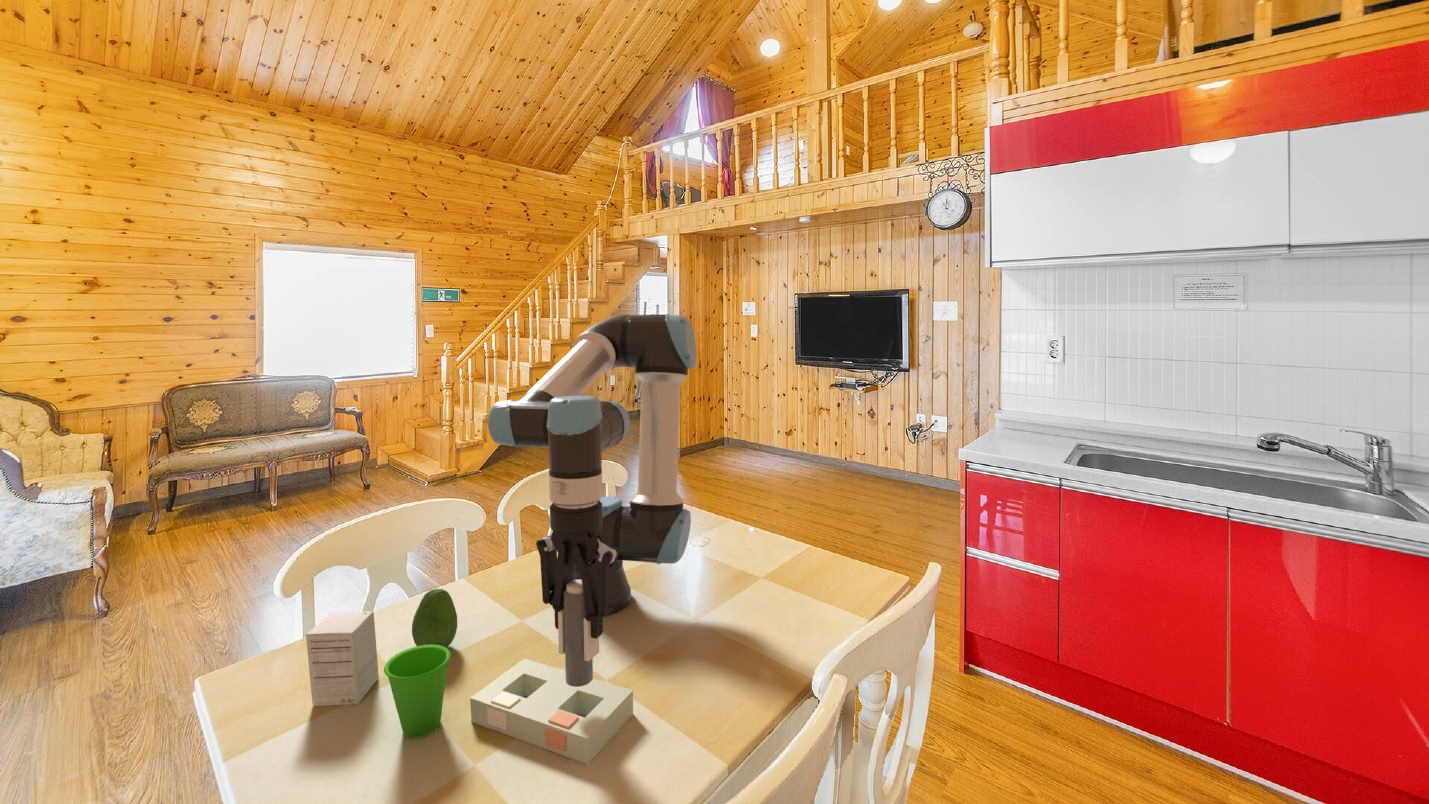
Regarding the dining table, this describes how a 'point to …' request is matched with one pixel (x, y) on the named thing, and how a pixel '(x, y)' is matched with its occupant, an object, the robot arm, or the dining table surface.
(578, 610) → the plug
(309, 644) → the supplement box
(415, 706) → the cup
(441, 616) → the fruit
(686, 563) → the dining table surface
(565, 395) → the robot arm
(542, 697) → the socket strip
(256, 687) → the dining table surface
